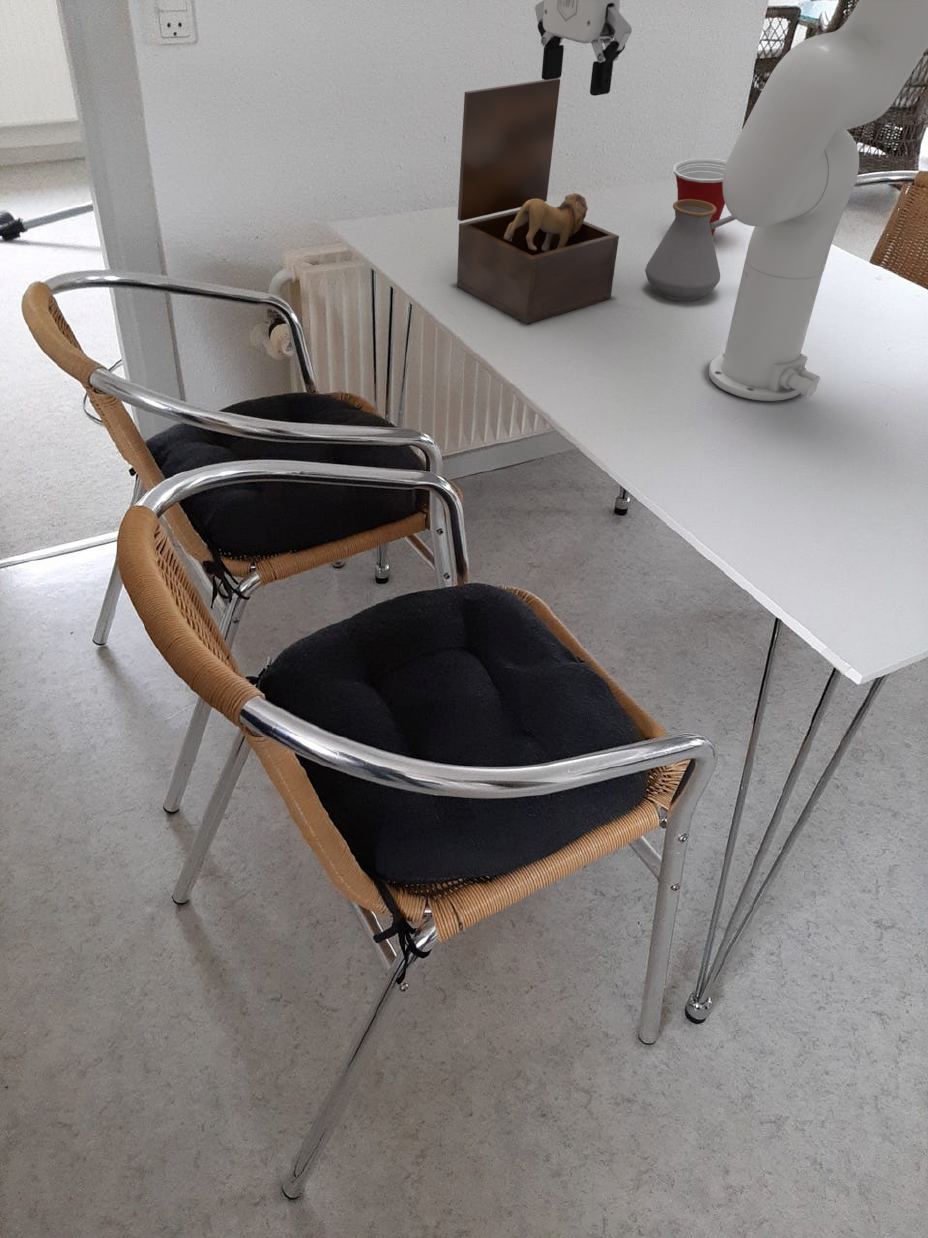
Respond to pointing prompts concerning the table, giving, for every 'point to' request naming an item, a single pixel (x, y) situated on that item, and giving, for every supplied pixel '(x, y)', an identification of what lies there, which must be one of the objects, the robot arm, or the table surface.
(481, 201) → the lid
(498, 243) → the chest
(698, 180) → the plastic cup
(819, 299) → the table surface
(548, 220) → the lion figurine
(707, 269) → the coffee pot
